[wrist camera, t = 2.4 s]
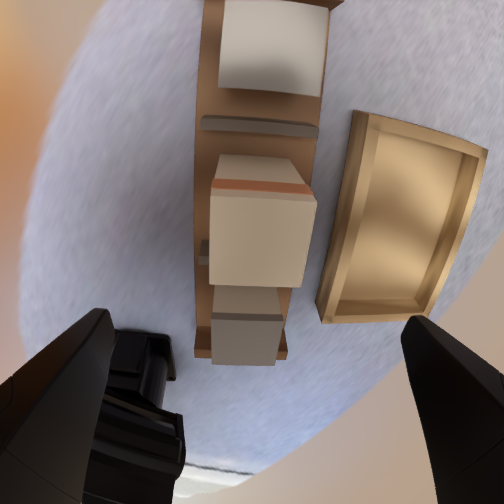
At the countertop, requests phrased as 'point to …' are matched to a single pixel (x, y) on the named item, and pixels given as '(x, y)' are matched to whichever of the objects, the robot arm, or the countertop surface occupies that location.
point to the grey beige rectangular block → (245, 325)
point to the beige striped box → (259, 222)
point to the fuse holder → (242, 148)
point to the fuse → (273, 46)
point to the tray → (397, 220)
